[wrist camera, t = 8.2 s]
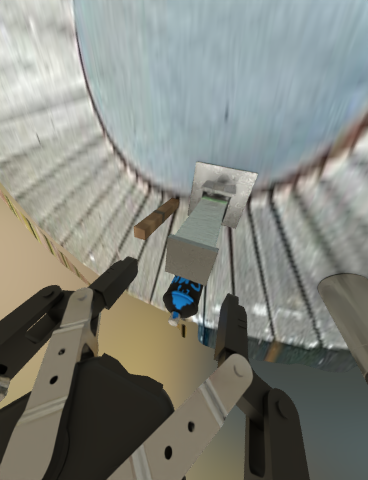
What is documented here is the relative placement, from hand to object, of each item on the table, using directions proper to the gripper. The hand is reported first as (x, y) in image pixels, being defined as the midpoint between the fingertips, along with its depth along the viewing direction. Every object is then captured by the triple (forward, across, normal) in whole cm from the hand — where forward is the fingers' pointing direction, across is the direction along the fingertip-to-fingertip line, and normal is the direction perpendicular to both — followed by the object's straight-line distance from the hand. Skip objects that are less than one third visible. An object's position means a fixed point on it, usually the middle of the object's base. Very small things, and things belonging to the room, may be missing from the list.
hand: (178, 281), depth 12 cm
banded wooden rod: (+25, +10, +4) cm, 27 cm away
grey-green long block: (+18, 0, 0) cm, 18 cm away
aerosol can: (+26, +1, +20) cm, 32 cm away
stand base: (+25, 0, 0) cm, 25 cm away
